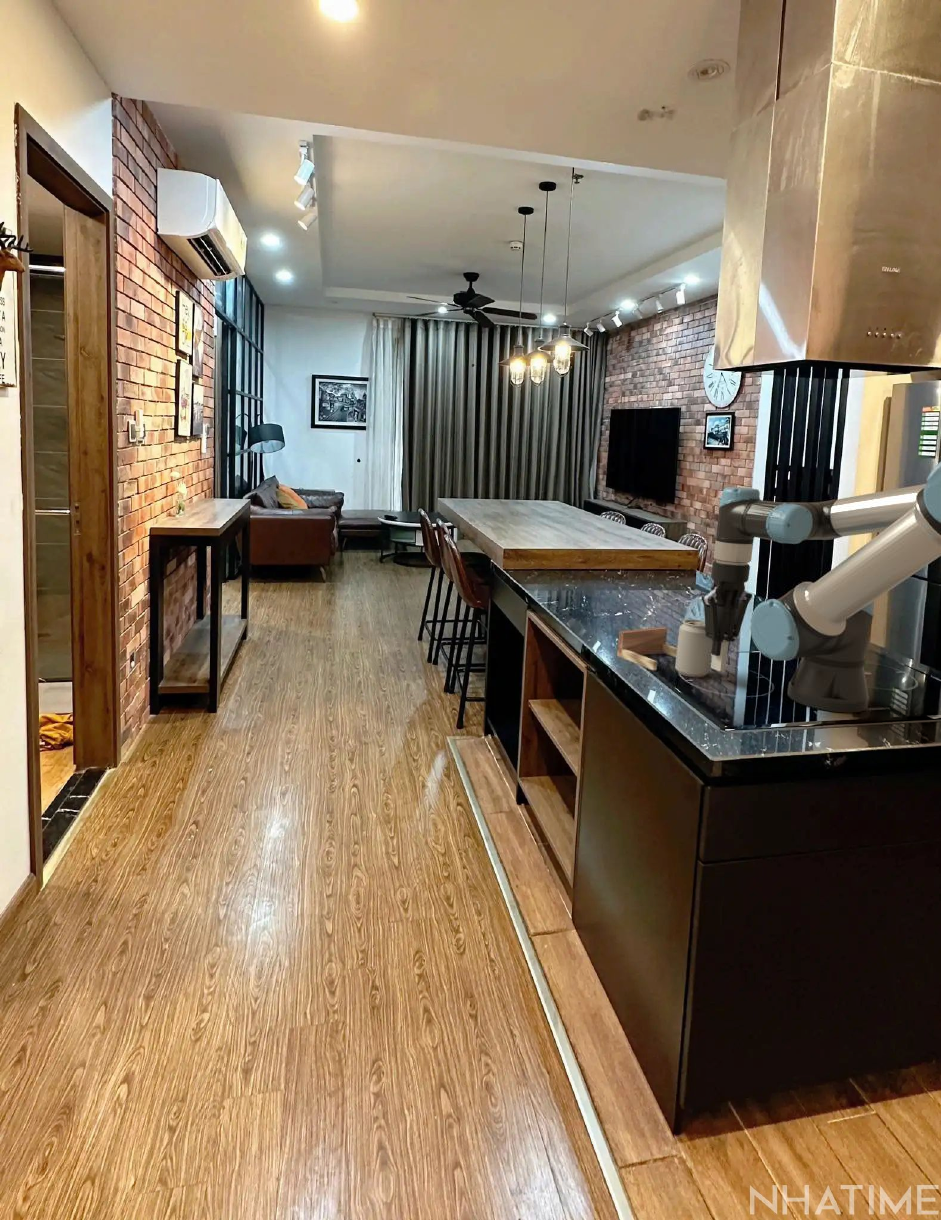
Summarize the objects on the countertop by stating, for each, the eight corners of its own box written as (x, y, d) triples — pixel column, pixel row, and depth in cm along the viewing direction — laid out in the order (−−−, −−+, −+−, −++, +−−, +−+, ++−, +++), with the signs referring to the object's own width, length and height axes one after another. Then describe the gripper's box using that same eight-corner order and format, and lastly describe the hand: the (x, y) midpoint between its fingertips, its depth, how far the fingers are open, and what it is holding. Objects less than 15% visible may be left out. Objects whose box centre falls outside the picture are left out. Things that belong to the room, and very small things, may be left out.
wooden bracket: (697, 663, 181) (700, 639, 180) (653, 670, 174) (655, 644, 173) (660, 650, 192) (663, 626, 190) (617, 655, 185) (619, 631, 184)
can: (685, 666, 179) (691, 616, 176) (715, 674, 173) (721, 622, 171) (668, 672, 173) (673, 620, 171) (698, 680, 168) (704, 627, 166)
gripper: (739, 557, 168) (725, 661, 173) (695, 560, 161) (683, 667, 167) (767, 563, 161) (752, 671, 167) (723, 566, 155) (709, 677, 160)
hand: (717, 669), depth 167 cm, fingers closed
